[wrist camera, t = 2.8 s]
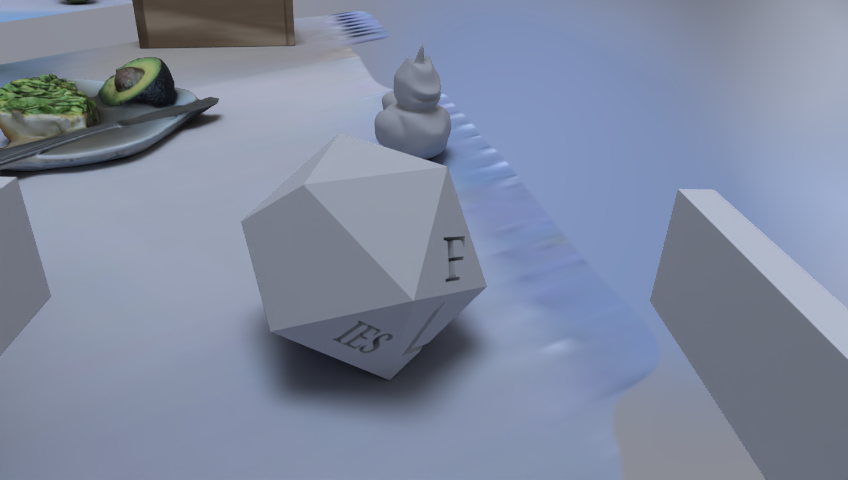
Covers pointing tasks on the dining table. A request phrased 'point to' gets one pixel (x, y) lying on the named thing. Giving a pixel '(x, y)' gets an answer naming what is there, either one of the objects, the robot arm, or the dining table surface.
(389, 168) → the die
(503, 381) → the dining table surface
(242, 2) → the figurine cradle
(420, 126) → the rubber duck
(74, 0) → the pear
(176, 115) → the salad plate
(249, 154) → the dining table surface
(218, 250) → the dining table surface
